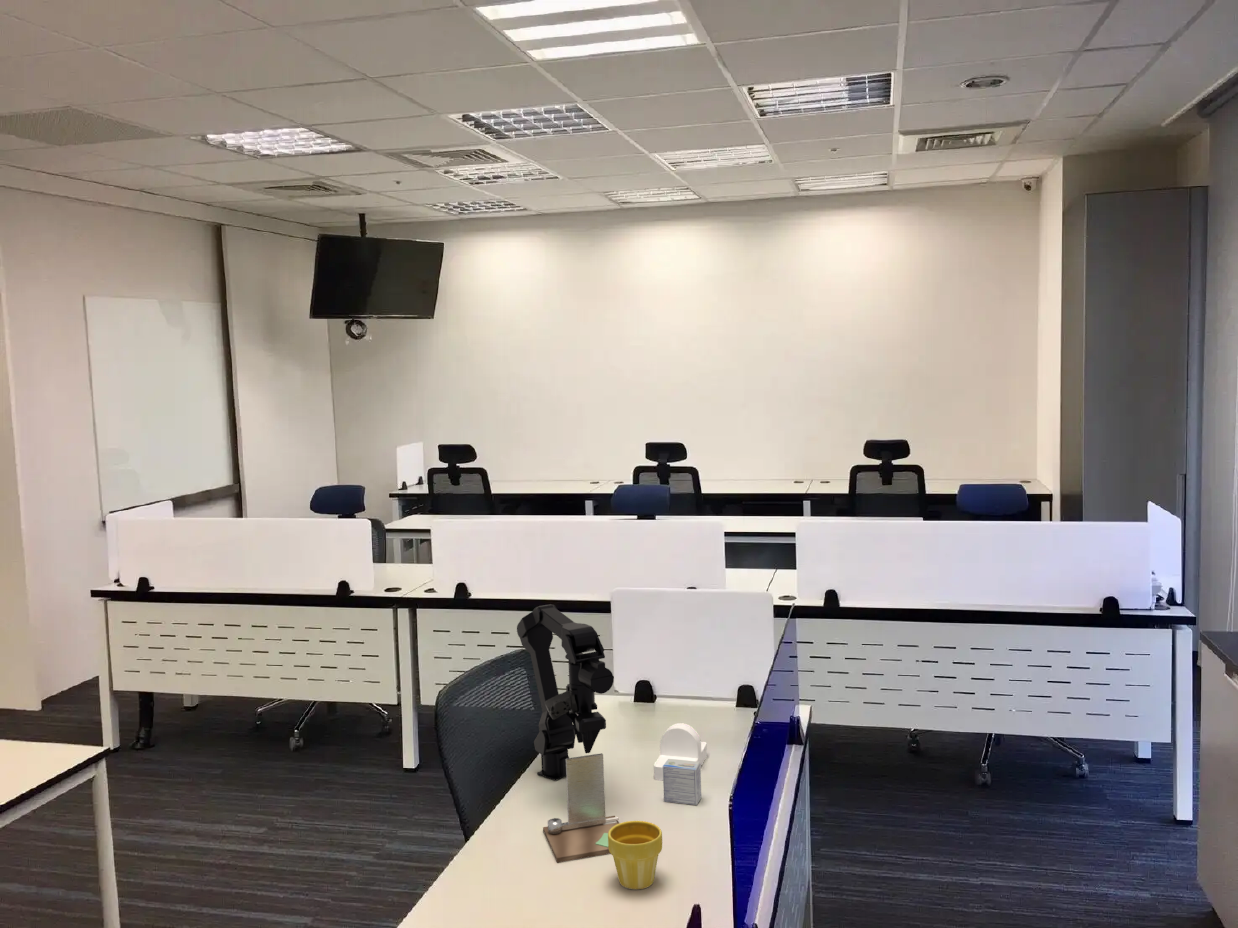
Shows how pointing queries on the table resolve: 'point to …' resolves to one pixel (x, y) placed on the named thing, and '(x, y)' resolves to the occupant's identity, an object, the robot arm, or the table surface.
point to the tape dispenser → (679, 747)
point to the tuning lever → (583, 794)
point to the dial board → (580, 841)
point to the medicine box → (682, 781)
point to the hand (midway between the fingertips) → (583, 747)
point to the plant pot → (635, 852)
